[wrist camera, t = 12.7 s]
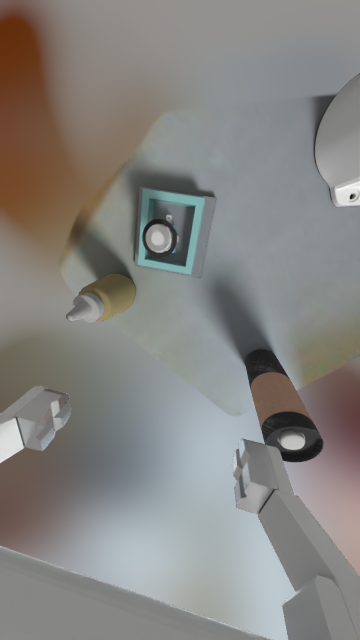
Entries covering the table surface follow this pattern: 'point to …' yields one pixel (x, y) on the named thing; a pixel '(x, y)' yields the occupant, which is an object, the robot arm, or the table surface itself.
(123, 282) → the squeeze bottle
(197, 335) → the table surface
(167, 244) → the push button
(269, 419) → the travel mug
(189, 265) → the socket plate
